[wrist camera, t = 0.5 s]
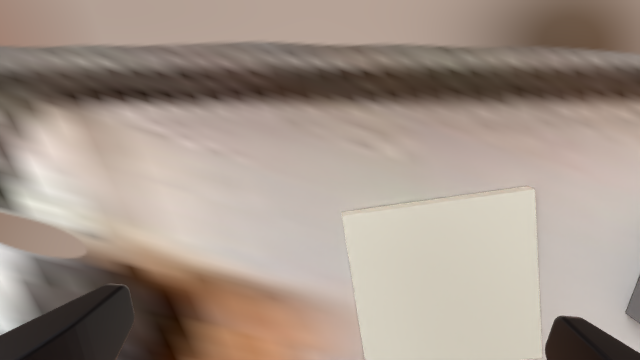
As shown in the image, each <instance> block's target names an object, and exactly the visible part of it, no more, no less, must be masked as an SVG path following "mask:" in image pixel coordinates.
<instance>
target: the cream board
mask: <svg viewBox="0 0 640 360" xmlns="http://www.w3.org/2000/svg"><path fill="white" fill-rule="evenodd" d="M342 221H343V227H344V233H345V240H346V246H347V252H348V258H349V264H350V271H351V277H352V283H353V289H354V296H355V302H356V308H357V314H358V320H359V327H360V333H361V339H362V345H363V352H364V358H365V360H527V359H538V358H542V338H541V315H540V293H539V270H538V247H537V224H536V201H535V189H533V188H531V187H529V186H524V187H517V188H510V189H503V190H495V191H488V192H481V193H474V194H467V195H460V196H453V197H445V198H438V199H431V200H424V201H417V202H410V203H402V204H395V205H388V206H381V207H374V208H367V209H360V210H352V211H345V212H342Z"/></svg>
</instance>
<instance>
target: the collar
mask: <svg viewBox="0 0 640 360" xmlns="http://www.w3.org/2000/svg"><path fill="white" fill-rule="evenodd" d="M626 314H627V315H629V316H630V317H632V318H633V319H634V320H636V321H637V322H638V323H640V278H639V280H638V283H637V285H636V288H635V290H634V293H633V295H632V298H631V300H630V303H629V305H628V308H627V310H626Z"/></svg>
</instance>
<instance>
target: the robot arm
mask: <svg viewBox="0 0 640 360" xmlns="http://www.w3.org/2000/svg"><path fill="white" fill-rule="evenodd" d="M134 316H135V315H134V309H133V305H132V300H131V295H130V291H129V288H128V287H127V286H125V285H121V284H106V285H103V286H101V287H99V288H97V289H95V290H93V291H91V292H89V293H87V294H85V295H83V296H81V297H78V298H76V299H74V300H72V301H70V302H68V303H66V304H64V305H62V306H60V307H58V308H56V309H54V310H52V311H50V312H48V313H46V314H43V315H41V316H39V317H37V318H35V319H33V320H31V321H29V322H27V323H25V324H23V325H21V326H19V327H17V328H15V329H13V330H11V331H9V332H6V333H4V334H2V335H0V360H116V358H117V356H118V354H119V352H120V350H121V348H122V346H123V344H124V342H125V340H126V338H127V336H128V334H129V332H130V330H131V328H132V326H133V323H134ZM545 354H546V358H547V360H640V353H638V352H637V351H635V350H634V349H632V348H630V347H629V346H627V345H625V344H624V343H622V342H620V341H619V340H617V339H616V338H614V337H612V336H611V335H609V334H607V333H606V332H604V331H602V330H601V329H599V328H598V327H596V326H594V325H593V324H591V323H589V322H588V321H586V320H584V319H583V318H580V317H572V316H558V317H557V318H556V319H555V320H554V323H553V325H552V328H551V331H550V334H549V337H548V340H547V342H546V346H545Z"/></svg>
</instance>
